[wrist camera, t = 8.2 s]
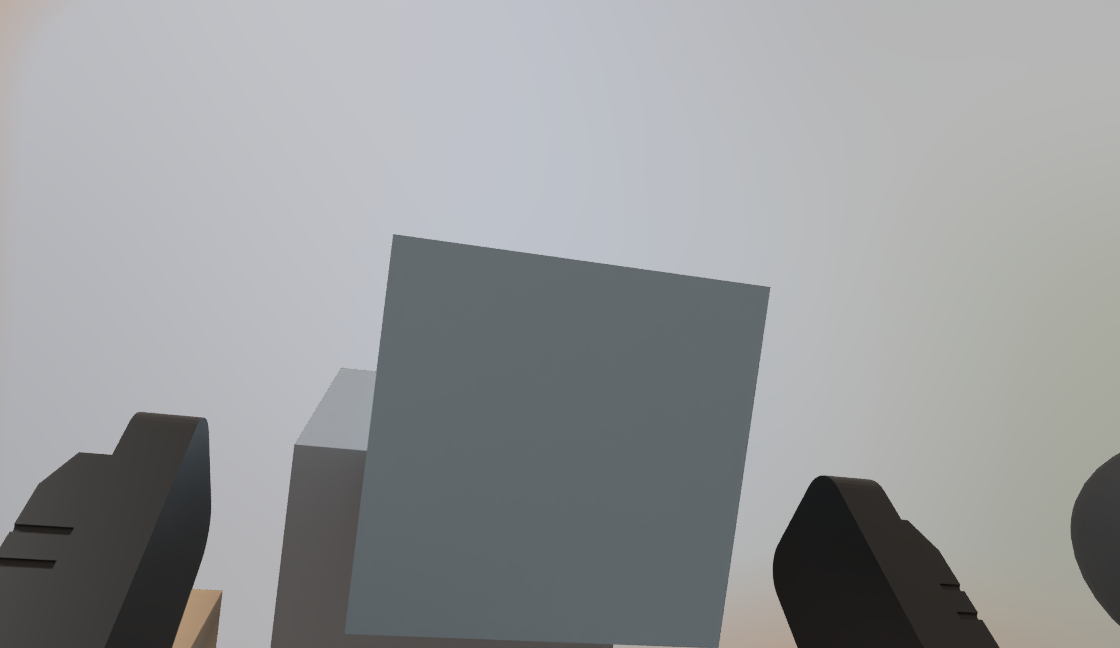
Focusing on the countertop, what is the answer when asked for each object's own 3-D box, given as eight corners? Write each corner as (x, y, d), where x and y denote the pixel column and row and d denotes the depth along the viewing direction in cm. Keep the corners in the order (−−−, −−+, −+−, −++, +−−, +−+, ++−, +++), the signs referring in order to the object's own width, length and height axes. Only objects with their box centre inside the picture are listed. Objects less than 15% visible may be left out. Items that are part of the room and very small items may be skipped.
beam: (493, 376, 30) (506, 272, 30) (718, 647, 9) (770, 286, 8) (386, 365, 29) (399, 258, 29) (345, 634, 8) (392, 234, 8)
